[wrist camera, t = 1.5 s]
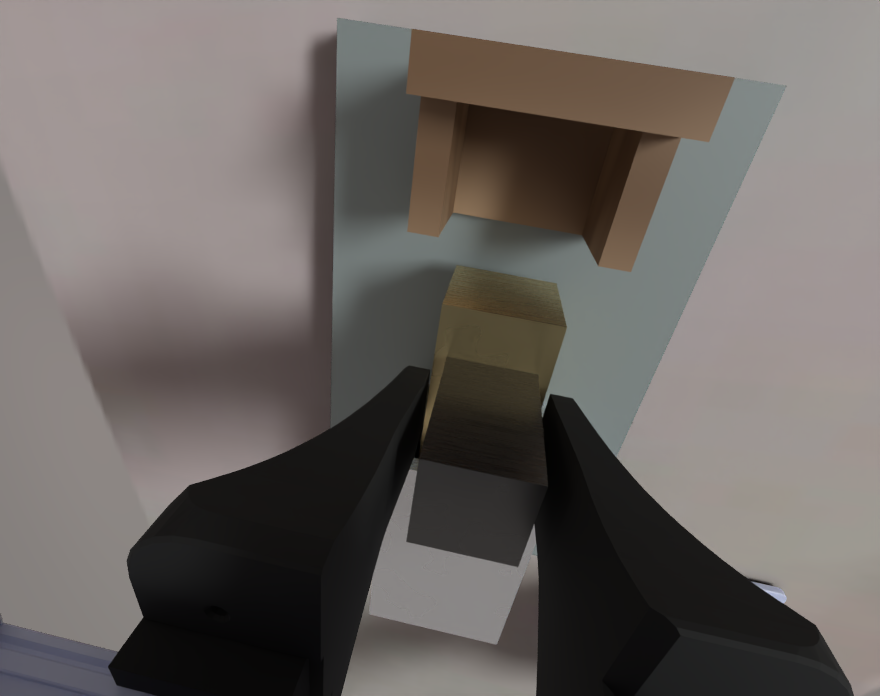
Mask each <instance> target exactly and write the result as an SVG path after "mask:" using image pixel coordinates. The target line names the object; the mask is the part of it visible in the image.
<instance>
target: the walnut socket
mask: <svg viewBox="0 0 880 696" xmlns="http://www.w3.org/2000/svg"><path fill="white" fill-rule="evenodd" d="M734 79H735V78H734V77H727V76H721V75H714V74H707V73H701V72H694V71H688V70H681V69H674V68H668V67H661V66H654V65H648V64H641V63H635V62H628V61H621V60H615V59H608V58H601V57H595V56H588V55H582V54H575V53H568V52H562V51H555V50H548V49H542V48H535V47H529V46H522V45H515V44H509V43H502V42H495V41H489V40H482V39H476V38H469V37H462V36H456V35H449V34H442V33H436V32H429V31H423V30H416V29H412V31H411V42H410V54H409V66H408V77H407V89H406V94H411V95H418V96H421V100H420V110H419V120H418V130H417V140H416V150H415V159H414V169H413V179H412V189H411V199H410V209H409V219H408V229H407V232H411V233H417V234H422V235H428V236H433V237H439V235H440V234H441V232H442V230H443V229H444V227H445V225H446V224H447V222H448V220H449V218H450V217H451V215H452V213H459V214H464V215H470V216H476V217H481V218H487V219H493V220H498V221H504V222H510V223H515V224H521V225H527V226H532V227H538V228H544V229H549V230H555V231H561V232H566V233H572V234H578V235H582V236H583V238H584V240H585V242H586V244H587V246H588V248H589V250H590V252H591V254H592V256H593V257H594V259H595V261H596V263H597V265H598V266H599V267H605V268H610V269H616V270H621V271H627V272H631V271H632V268H633V266H634V263H635V260H636V258H637V255H638V252H639V250H640V247H641V244H642V242H643V239H644V236H645V234H646V231H647V228H648V226H649V223H650V220H651V218H652V215H653V212H654V210H655V207H656V204H657V202H658V199H659V196H660V194H661V191H662V188H663V185H664V183H665V180H666V177H667V175H668V172H669V169H670V167H671V164H672V161H673V159H674V156H675V153H676V151H677V148H678V145H679V143H680V140H681V138H685V139H692V140H698V141H704V142H709V141H710V139H711V136H712V134H713V131H714V129H715V126H716V124H717V121H718V119H719V116H720V114H721V111H722V109H723V106H724V104H725V102H726V99H727V97H728V94H729V92H730V89H731V87H732V84H733V82H734Z"/></svg>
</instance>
